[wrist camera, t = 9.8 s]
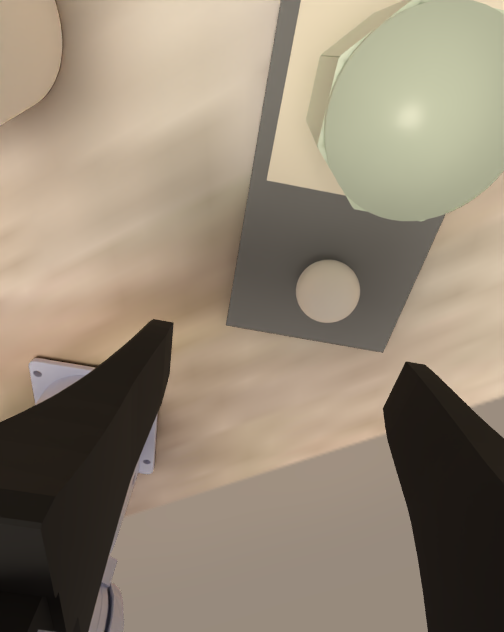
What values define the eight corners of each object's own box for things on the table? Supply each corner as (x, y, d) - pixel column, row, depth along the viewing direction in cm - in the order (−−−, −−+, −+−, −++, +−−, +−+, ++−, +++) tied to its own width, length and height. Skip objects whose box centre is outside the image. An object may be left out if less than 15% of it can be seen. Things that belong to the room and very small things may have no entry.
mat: (381, 347, 23) (383, 354, 23) (226, 320, 23) (225, 327, 22) (534, 1, 15) (545, -1, 14) (290, -53, 14) (290, -58, 14)
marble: (344, 306, 21) (353, 340, 19) (288, 296, 21) (290, 329, 19) (362, 255, 20) (375, 285, 17) (302, 244, 20) (306, 272, 17)
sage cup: (418, 183, 18) (475, 235, 13) (297, 160, 17) (305, 204, 12) (477, 33, 15) (581, 23, 10) (331, 3, 14) (360, -24, 9)
